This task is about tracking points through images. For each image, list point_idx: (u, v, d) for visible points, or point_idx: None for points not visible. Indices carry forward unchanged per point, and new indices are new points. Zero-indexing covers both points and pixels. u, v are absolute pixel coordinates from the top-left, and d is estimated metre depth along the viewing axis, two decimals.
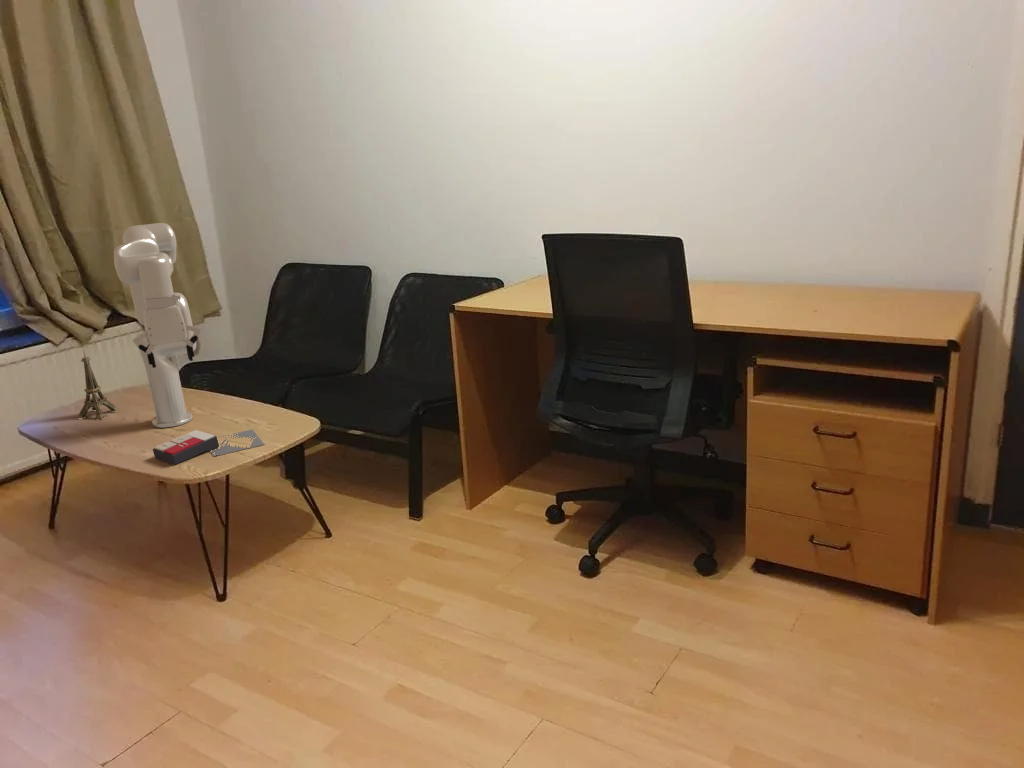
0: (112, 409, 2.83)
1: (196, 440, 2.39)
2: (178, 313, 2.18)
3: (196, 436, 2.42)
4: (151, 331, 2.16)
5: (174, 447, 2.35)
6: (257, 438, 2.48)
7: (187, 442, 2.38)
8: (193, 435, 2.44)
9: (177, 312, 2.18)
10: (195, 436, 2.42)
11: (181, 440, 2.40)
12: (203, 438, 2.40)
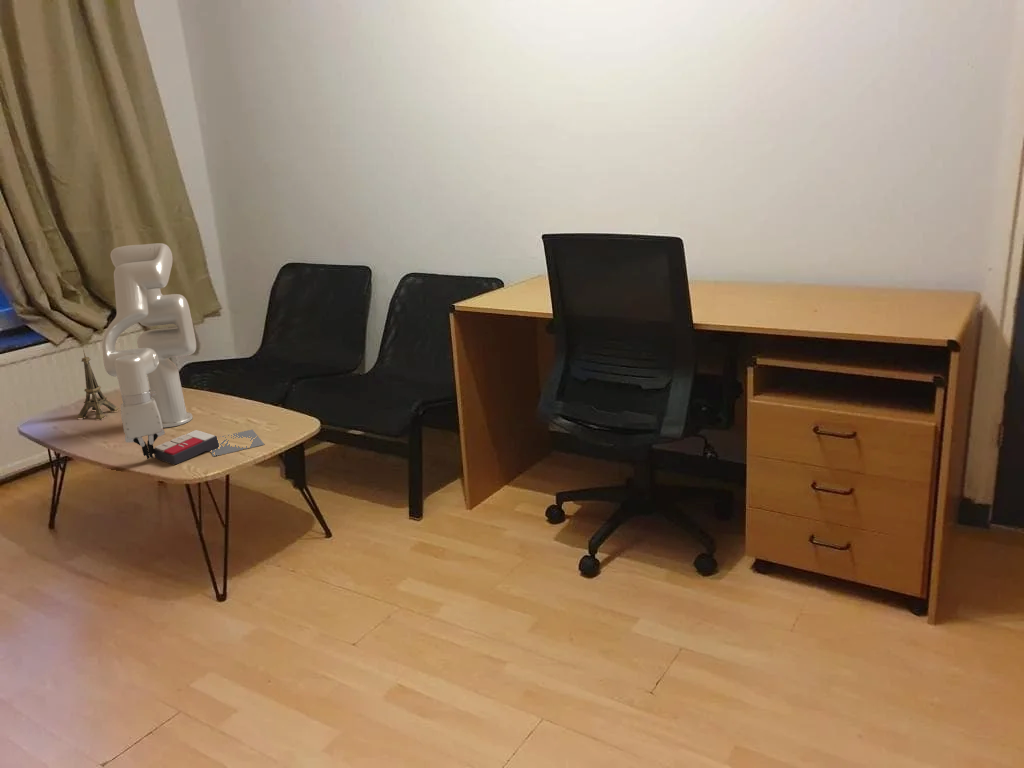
0: (112, 409, 2.83)
1: (196, 440, 2.39)
2: (153, 407, 2.31)
3: (196, 436, 2.42)
4: (128, 426, 2.29)
5: (174, 447, 2.35)
6: (257, 438, 2.48)
7: (187, 442, 2.38)
8: (193, 435, 2.44)
9: (153, 406, 2.31)
10: (195, 436, 2.42)
11: (181, 440, 2.40)
12: (203, 438, 2.40)
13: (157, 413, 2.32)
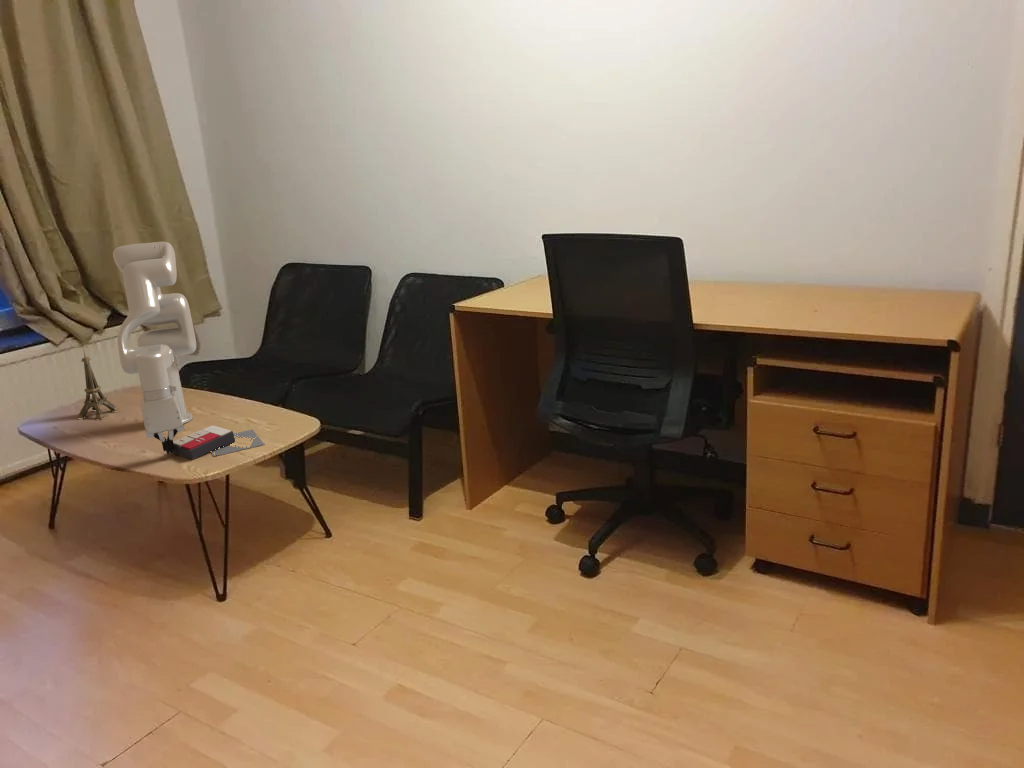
0: (112, 409, 2.83)
1: (213, 435, 2.42)
2: (174, 403, 2.33)
3: (213, 431, 2.45)
4: (149, 421, 2.31)
5: (191, 442, 2.38)
6: (257, 438, 2.48)
7: (204, 437, 2.41)
8: (209, 430, 2.47)
9: (173, 402, 2.33)
10: (212, 431, 2.45)
11: (198, 435, 2.43)
12: (220, 433, 2.43)
13: (177, 408, 2.34)
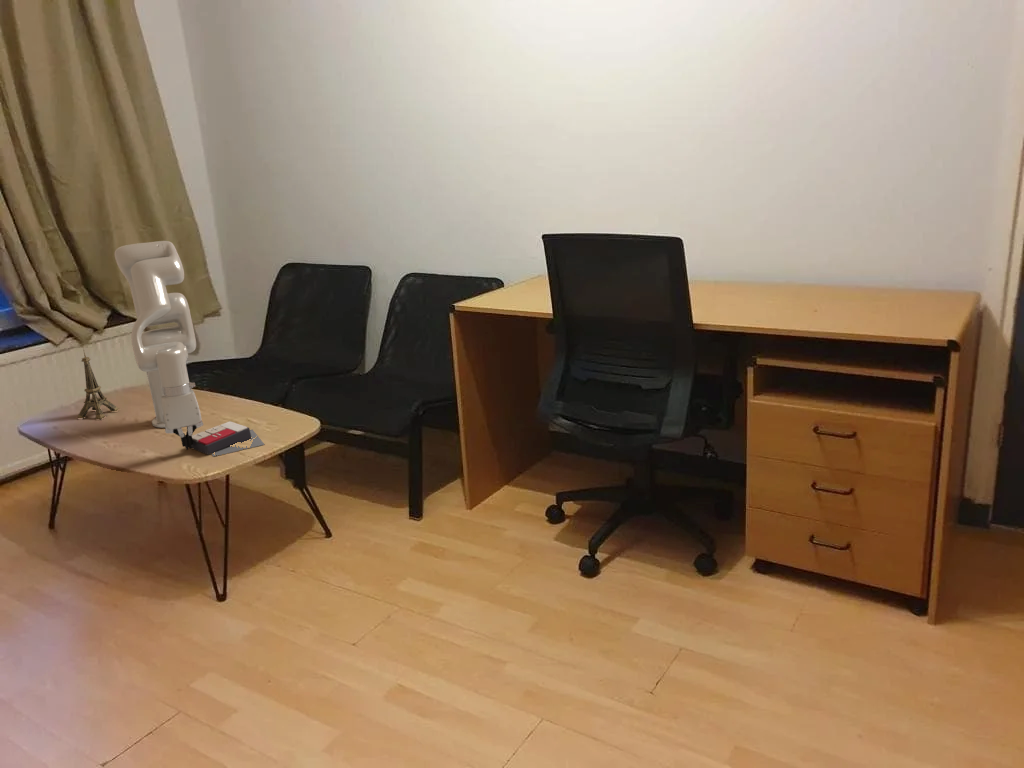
0: (112, 409, 2.83)
1: (229, 431, 2.44)
2: (193, 399, 2.36)
3: (230, 427, 2.48)
4: (168, 417, 2.33)
5: (208, 437, 2.41)
6: (257, 438, 2.48)
7: (221, 433, 2.44)
8: (227, 426, 2.49)
9: (192, 398, 2.35)
10: (229, 427, 2.48)
11: (215, 431, 2.46)
12: (236, 429, 2.46)
13: (196, 405, 2.37)
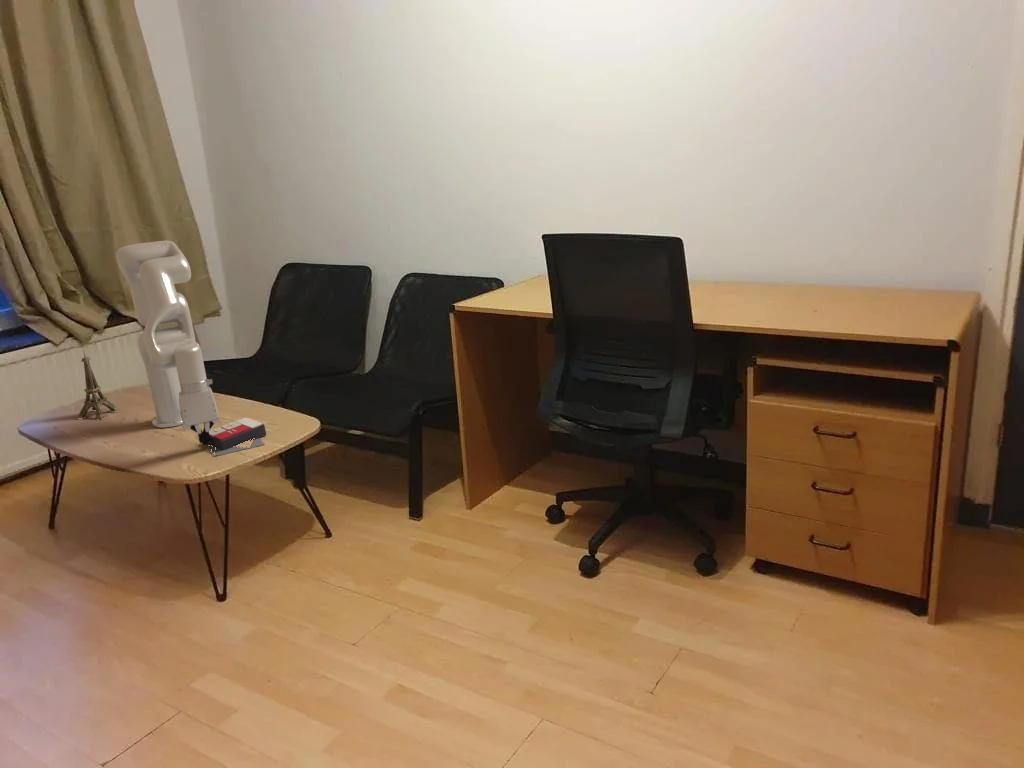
0: (112, 409, 2.83)
1: (244, 427, 2.47)
2: (210, 395, 2.38)
3: (245, 423, 2.50)
4: (186, 413, 2.36)
5: (223, 433, 2.44)
6: (257, 438, 2.48)
7: (236, 429, 2.46)
8: (242, 422, 2.52)
9: (209, 395, 2.38)
10: (244, 423, 2.51)
11: (231, 427, 2.48)
12: (251, 426, 2.48)
13: (213, 401, 2.39)
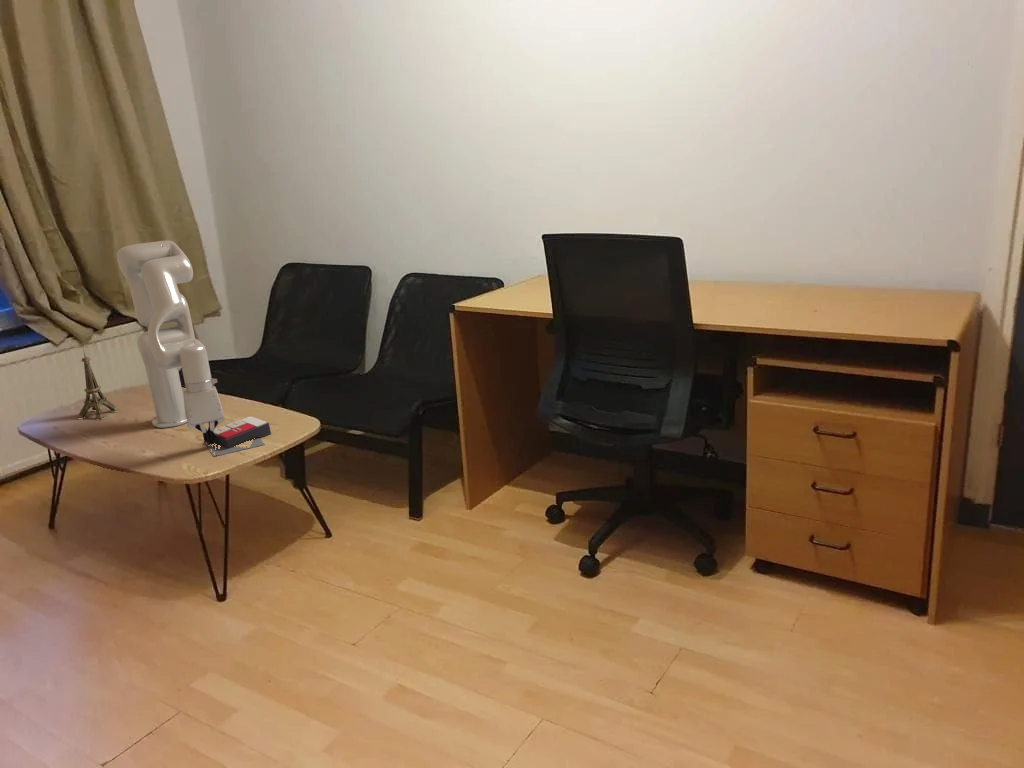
0: (112, 409, 2.83)
1: (249, 426, 2.48)
2: (215, 395, 2.39)
3: (250, 422, 2.51)
4: (191, 412, 2.36)
5: (228, 432, 2.45)
6: (257, 438, 2.48)
7: (241, 427, 2.47)
8: (247, 421, 2.53)
9: (214, 394, 2.39)
10: (249, 422, 2.52)
11: (235, 425, 2.49)
12: (256, 424, 2.49)
13: (218, 400, 2.40)
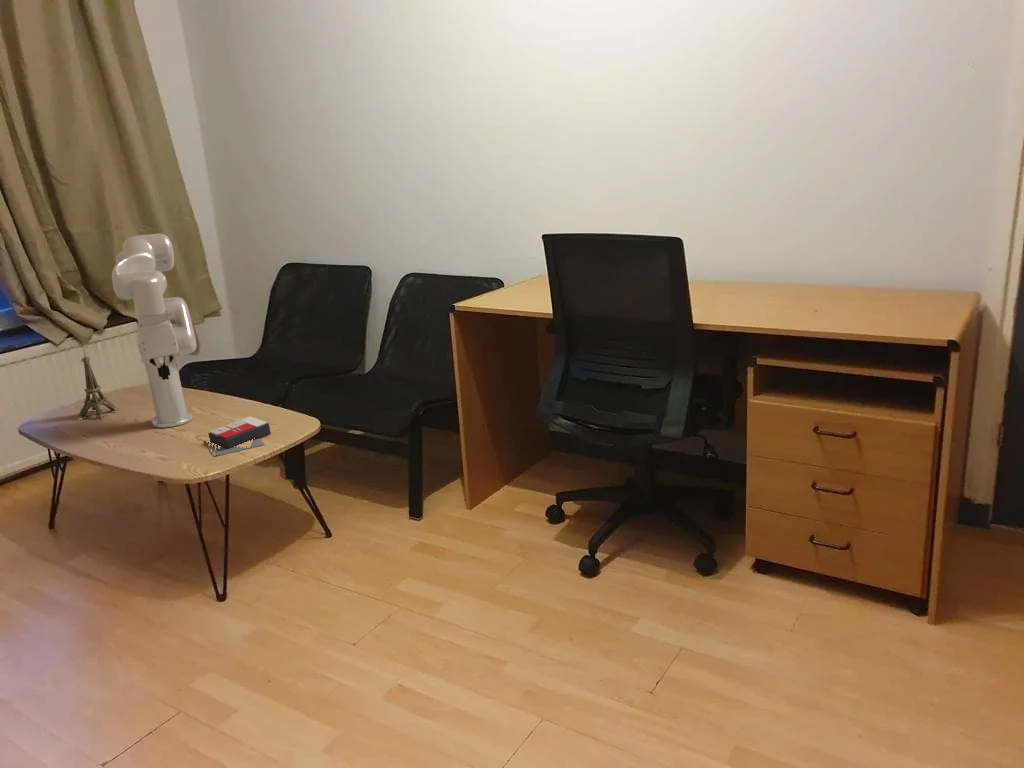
0: (112, 409, 2.83)
1: (249, 426, 2.48)
2: (170, 328, 2.34)
3: (249, 422, 2.51)
4: (145, 346, 2.31)
5: (228, 432, 2.45)
6: (257, 438, 2.48)
7: (240, 428, 2.47)
8: (246, 421, 2.53)
9: (169, 328, 2.33)
10: (248, 422, 2.51)
11: (235, 425, 2.49)
12: (256, 424, 2.49)
13: (173, 334, 2.35)
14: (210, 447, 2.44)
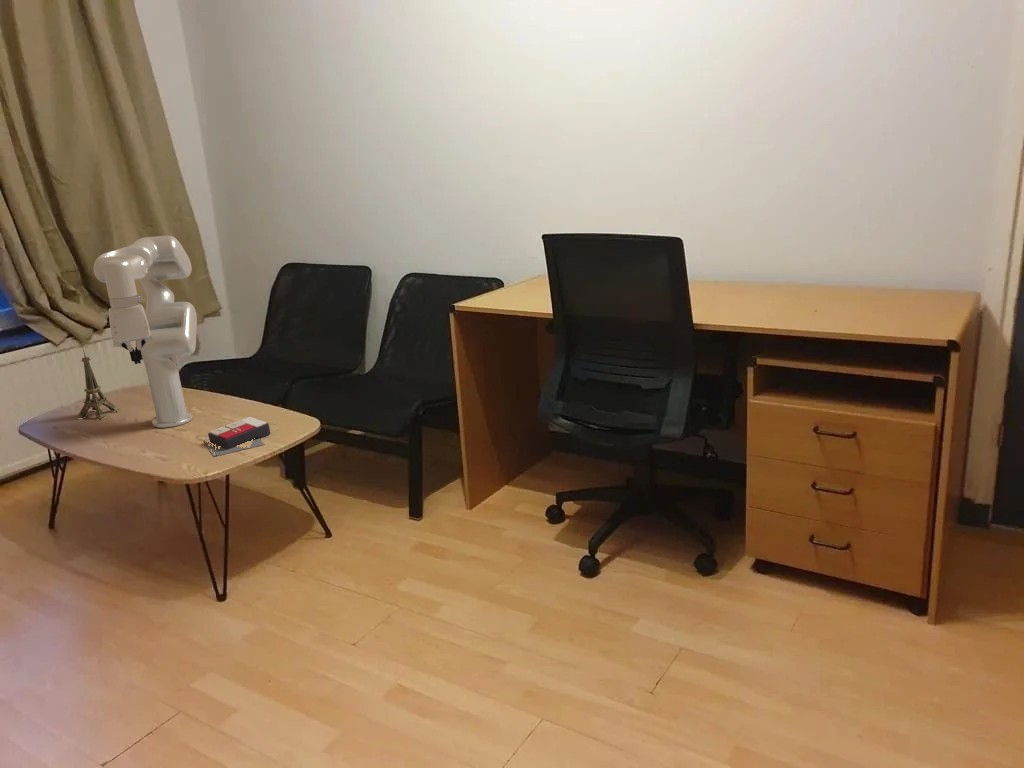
0: (112, 409, 2.83)
1: (249, 426, 2.47)
2: (141, 312, 2.34)
3: (249, 422, 2.51)
4: (116, 329, 2.32)
5: (228, 432, 2.44)
6: (257, 438, 2.48)
7: (240, 428, 2.47)
8: (246, 421, 2.53)
9: (140, 311, 2.34)
10: (248, 422, 2.51)
11: (235, 426, 2.49)
12: (256, 425, 2.49)
13: (145, 318, 2.35)
14: (210, 447, 2.44)
